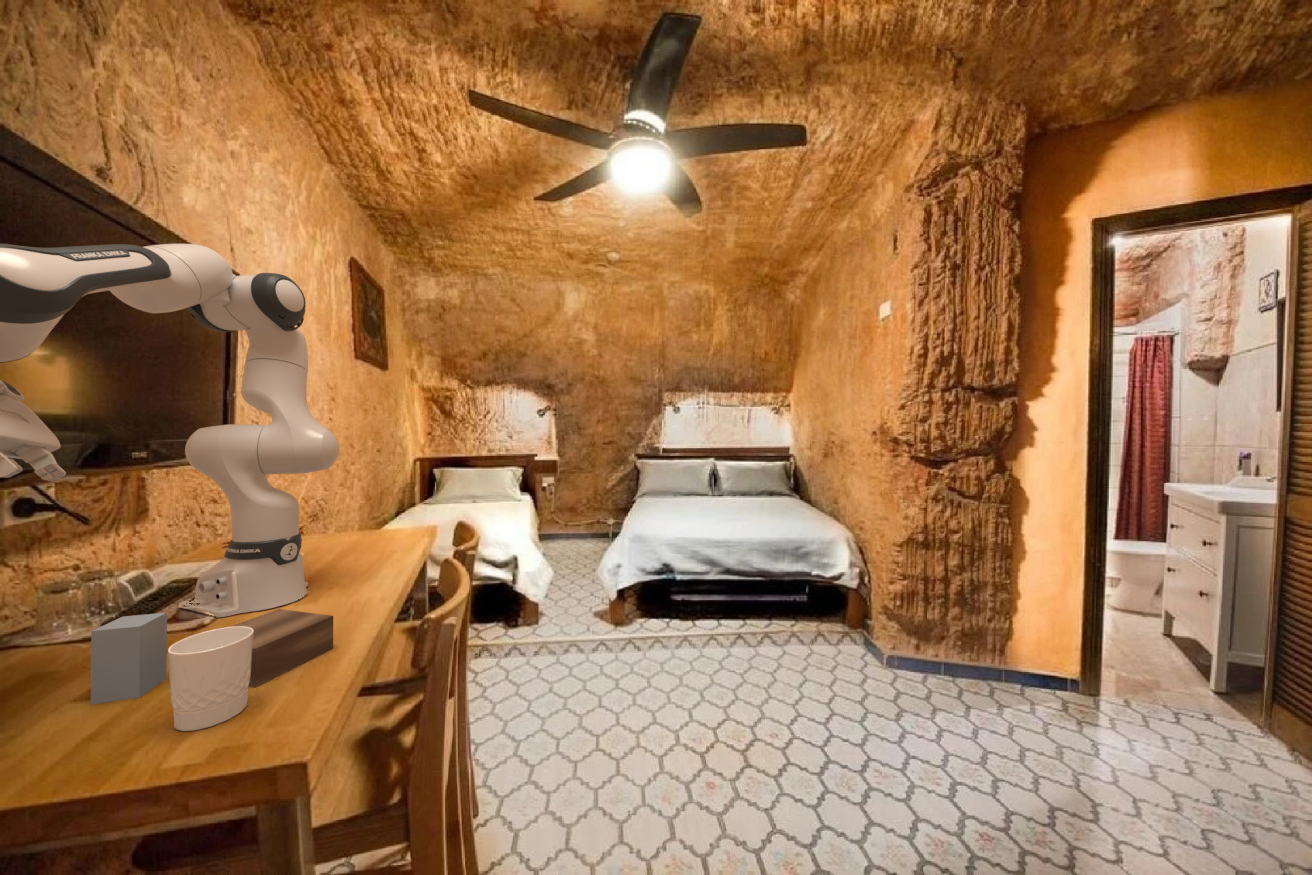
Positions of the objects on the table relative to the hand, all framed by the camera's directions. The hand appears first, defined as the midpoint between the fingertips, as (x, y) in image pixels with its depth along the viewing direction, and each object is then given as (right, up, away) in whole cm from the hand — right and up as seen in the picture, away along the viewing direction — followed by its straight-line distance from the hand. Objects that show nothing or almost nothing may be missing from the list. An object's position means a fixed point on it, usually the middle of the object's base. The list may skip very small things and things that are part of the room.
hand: (35, 476), depth 56 cm
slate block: (+5, -31, +6) cm, 32 cm away
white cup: (+22, -32, +1) cm, 39 cm away
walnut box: (+18, -32, +14) cm, 39 cm away
